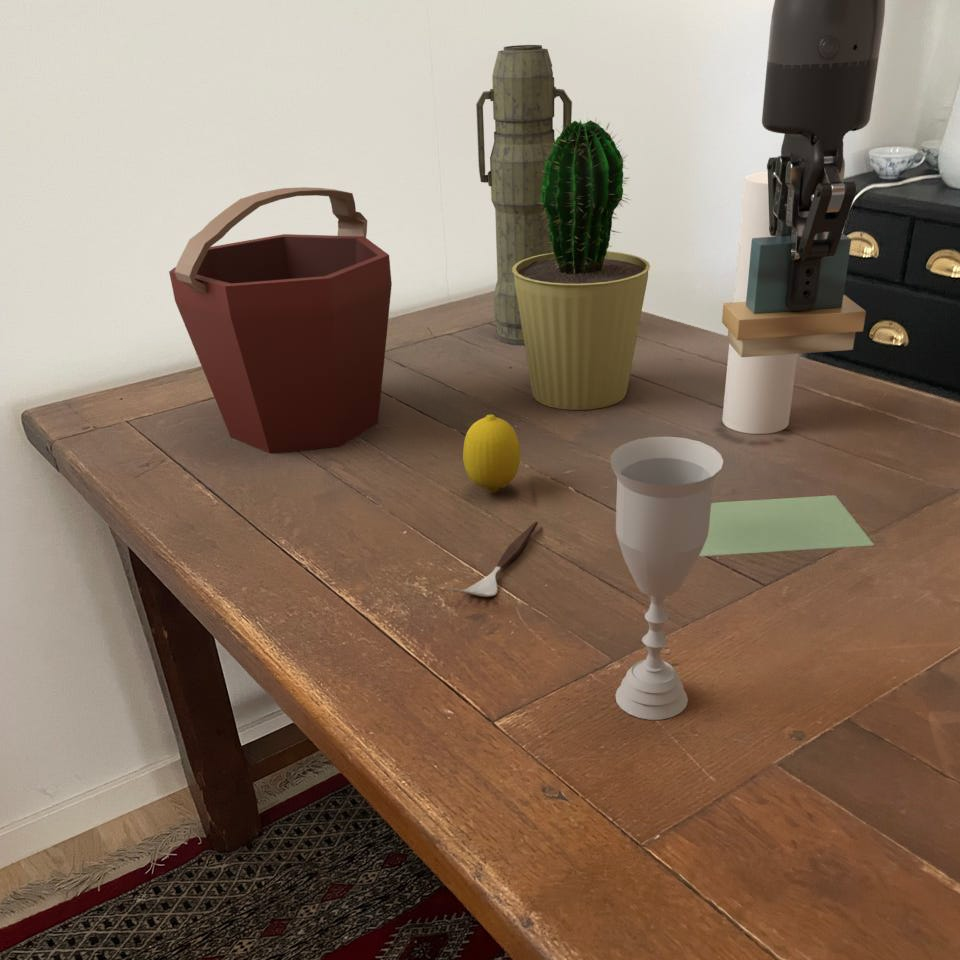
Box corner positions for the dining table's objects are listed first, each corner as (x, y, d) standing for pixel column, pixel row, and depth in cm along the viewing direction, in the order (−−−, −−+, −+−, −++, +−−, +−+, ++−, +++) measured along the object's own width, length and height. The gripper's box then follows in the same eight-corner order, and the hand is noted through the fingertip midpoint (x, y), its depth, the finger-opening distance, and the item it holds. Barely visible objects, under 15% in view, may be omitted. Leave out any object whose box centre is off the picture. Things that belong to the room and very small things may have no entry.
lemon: (480, 477, 104) (476, 401, 100) (530, 485, 102) (528, 408, 98) (455, 499, 100) (450, 421, 96) (506, 508, 98) (504, 429, 94)
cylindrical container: (711, 426, 113) (732, 181, 99) (737, 405, 117) (761, 169, 104) (774, 438, 109) (805, 186, 95) (798, 416, 114) (831, 173, 100)
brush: (839, 332, 85) (854, 227, 81) (860, 350, 81) (877, 241, 77) (720, 340, 85) (728, 235, 80) (735, 359, 81) (744, 249, 76)
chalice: (700, 733, 68) (724, 487, 59) (598, 725, 70) (605, 483, 60) (700, 670, 74) (722, 437, 65) (606, 664, 76) (613, 435, 66)
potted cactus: (509, 416, 118) (501, 127, 101) (520, 372, 130) (515, 108, 114) (644, 417, 116) (659, 122, 99) (643, 371, 128) (655, 103, 112)
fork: (550, 529, 94) (550, 509, 93) (480, 615, 82) (478, 594, 81) (524, 524, 95) (524, 505, 94) (450, 609, 83) (449, 588, 82)
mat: (834, 498, 97) (835, 494, 96) (874, 549, 88) (874, 545, 88) (666, 509, 96) (666, 505, 96) (690, 560, 88) (690, 556, 88)
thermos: (574, 342, 139) (577, 46, 120) (488, 347, 139) (477, 51, 120) (565, 323, 147) (566, 41, 128) (483, 328, 146) (472, 46, 127)
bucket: (358, 376, 131) (335, 164, 118) (449, 427, 116) (434, 189, 102) (174, 422, 121) (124, 195, 107) (246, 484, 105) (199, 227, 91)
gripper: (916, 57, 66) (873, 326, 76) (841, 44, 78) (812, 278, 87) (800, 64, 66) (772, 333, 75) (743, 50, 78) (724, 284, 87)
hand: (793, 302), depth 81 cm, fingers closed on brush, 2 cm apart
